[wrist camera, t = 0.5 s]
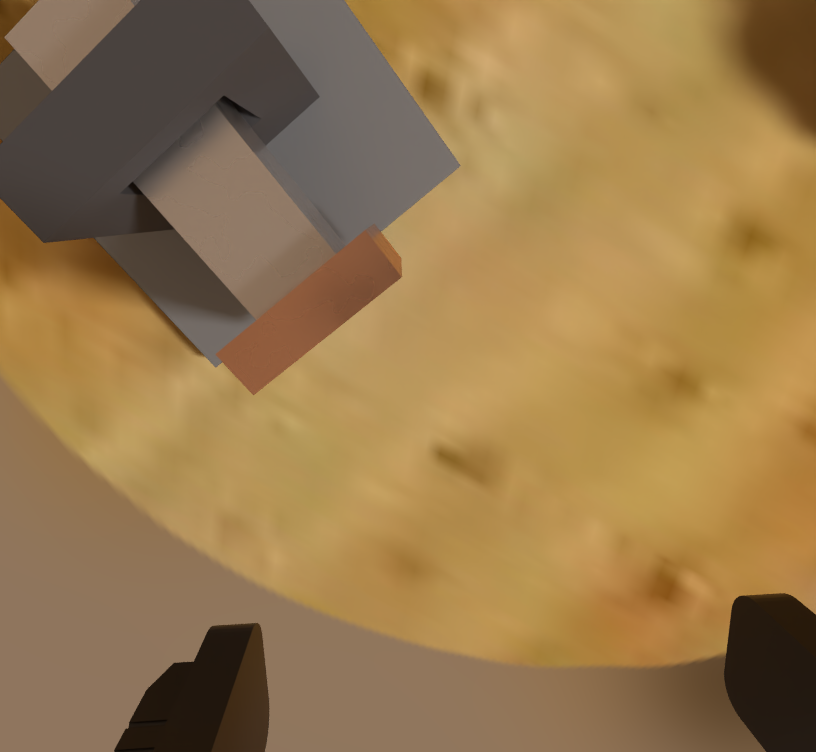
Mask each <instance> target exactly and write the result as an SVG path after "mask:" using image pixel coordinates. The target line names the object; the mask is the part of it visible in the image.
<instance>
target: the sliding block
mask: <svg viewBox="0 0 816 752" xmlns="http://www.w3.org/2000/svg"><path fill="white" fill-rule="evenodd" d="M139 1H140V0H39V1H38V2H37V3H36V4H35V5H34V6H33V7H32V8H31V9H30V10H29V11H28V12H27V13H26V15H25V16H24V17H23V18H22V19H21V20H20V21H19V22H18V23H17V24H16V25H15V26H14V27H13V29H12V30H11V31H10V32H9V33H8V34H7V35H6V36H5V37H4V38H5V39H6V40H7V41H8V42H9V43H10V44H11V45H12V47H13V48H14V49H15V50H16V51H17V52H18V53H19V54H20V56H21V57H22V58H23V59H24V60H25V61H26V62H27V63H28V65H29V66H30V67H31V68H32V69H33V70H34V71H35V72H36V73H37V75H38V76H39V77H40V78H41V79H42V80H43V81H44V82H45V84H46V85H47V86H48V87H49V88H50V89H51V90H52V91H53V89H54V88H55V87H56V86H57V85H58V84H59V83H60V82H61V81H62V80H63V79H64V78H65V77H66V76H67V75H68V74H69V73H70V72H71V71H72V70H73V69H74V68H75V67H76V66H77V65H78V64H79V63H80V62H81V61H82V60H83V59H84V58H85V57H86V56H87V55H88V54H89V53H90V52H91V50H92V49H93V48H94V47H95V46H96V45H97V44H98V43H99V42H100V41H101V40H102V39H103V38H104V37H105V36H106V35H107V34H108V33H109V32H110V31H111V30H112V29H113V28H114V27H115V26H116V25H117V24H118V23H119V22H120V21H121V20H122V19H123V18H124V17H125V16H126V15H127V14H128V13H129V12H130V10H131V9H132V8H133V7H134V6H135V5H136V4H137V3H138V2H139ZM133 182H134V184H135V185H136V186H137V187H138V188H139V189H140V190H141V191H142V193H143V194H144V195H145V196H146V197H147V198H148V199H149V200H150V201H151V203H152V204H153V205H154V206H155V207H156V208H157V209H158V210H159V212H160V213H161V214H162V215H163V216H164V217H165V218H166V219H167V221H168V222H169V223H170V224H171V225H172V226H173V227H174V228H175V230H176V231H177V232H178V233H179V234H180V235H181V236H182V237H183V239H184V240H185V241H186V242H187V243H188V244H189V245H190V246H191V248H192V249H193V250H194V251H195V252H196V253H197V254H198V255H199V257H200V258H201V259H202V260H203V261H204V262H205V263H206V264H207V265H208V267H209V268H210V269H211V270H212V271H213V272H214V273H215V274H216V276H217V277H218V278H219V279H220V280H221V281H222V282H223V283H224V285H225V286H226V287H227V288H228V289H229V290H230V291H231V292H232V294H233V295H234V296H235V297H236V298H237V299H238V300H239V301H240V303H241V304H242V305H243V306H244V307H245V308H246V309H247V310H248V312H249V313H250V314H251V315H252V316H253V317H254V318H255V319H256V321H255V322H254V323H252V324H251V325H250V326H249V327H248V328H246V329H245V330H244V331H243V332H241V333H240V334H239V335H238V336H237V337H235V338H234V339H233V340H232V341H231V342H229V343H228V344H227V345H226V346H225V347H223V348H222V349H221V350H220V351H219V352H217V353H216V354H215V355H216V356H217V357H218V358H219V359H220V360H221V361H222V362H223V363H224V364H225V365H226V366H227V367H228V369H229V370H230V371H231V372H232V373H233V374H234V375H235V376H236V377H237V378H238V379H239V380H240V381H241V382H242V384H243V385H244V386H245V387H246V388H247V389H248V390H249V391H250V392H251V393H252V394H253V395H254V394H256V393H257V392H258V391H259V390H261V389H262V388H263V387H264V386H266V385H267V384H268V383H269V382H271V381H272V380H273V379H274V378H276V377H277V376H278V375H279V374H281V373H282V372H283V371H284V370H286V369H287V368H288V367H289V366H291V365H292V364H293V363H294V362H296V361H297V360H298V359H299V358H301V357H302V356H303V355H304V354H306V353H307V352H308V351H309V350H311V349H312V348H313V347H315V346H316V345H317V344H318V343H320V342H321V341H322V340H323V339H325V338H326V337H327V336H328V335H330V334H331V333H332V332H333V331H335V330H336V329H337V328H338V327H340V326H341V325H342V324H343V323H345V322H346V321H347V320H348V319H350V318H351V317H352V316H353V315H355V314H356V313H357V312H358V311H360V310H361V309H362V308H363V307H365V306H366V305H367V304H368V303H370V302H371V301H372V300H373V299H375V298H376V297H377V296H378V295H380V294H381V293H382V292H383V291H385V290H386V289H387V288H389V287H390V286H391V285H392V284H394V283H395V282H396V281H397V280H399V279H400V278H401V277H402V267H401V257H400V256H399V255H398V253H397V252H396V251H395V249H394V248H393V247H392V246H391V244H390V243H389V242H388V240H387V239H386V238H385V237H384V235H383V234H382V233H381V231H380V230H379V229H378V228H377V226H376V225H375V224H373V225H372V226H370V227H369V228H367V229H366V230H364V231H363V232H362V233H361V234H360V235H358V236H357V237H356V238H355V239H354V240H352V241H351V242H350V243H349V244H348V245H345V244H344V243H343V242H342V240H341V239H340V238H339V237H338V235H337V234H336V233H335V232H334V230H333V229H332V228H331V227H330V225H329V224H328V223H327V222H326V220H325V219H324V218H323V217H322V215H321V214H320V213H319V212H318V210H317V209H316V208H315V207H314V205H313V204H312V203H311V202H310V200H309V199H308V198H307V197H306V195H305V194H304V193H303V192H302V190H301V189H300V188H299V187H298V185H297V184H296V183H295V182H294V180H293V179H292V178H291V177H290V175H289V174H288V173H287V172H286V170H285V169H284V168H283V167H282V165H281V164H280V163H279V162H278V160H277V159H276V158H275V157H274V155H273V154H272V153H271V152H270V151H269V149H268V148H267V147H266V146H265V144H264V143H263V142H262V141H261V139H260V138H259V137H258V136H257V134H256V133H255V132H254V131H253V129H252V128H251V127H250V126H249V124H248V123H247V122H246V121H245V119H244V118H243V117H242V116H241V114H240V113H239V112H238V111H237V109H236V108H235V107H234V106H233V104H232V103H231V102H230V101H229V99H228V98H227V97H226V96H223V97H222V98H220V99H219V100H218V101H217V102H216V103H215V104H214V105H213V106H212V107H211V108H210V109H209V110H208V111H207V112H206V113H205V114H204V115H202V116H201V117H200V118H199V119H198V120H197V121H196V122H195V123H194V124H193V125H192V126H191V127H190V128H189V129H188V130H187V131H186V132H184V133H183V134H182V135H181V136H180V137H179V138H178V139H177V140H176V141H175V142H174V143H173V144H172V145H171V146H170V147H169V148H168V149H166V150H165V151H164V152H163V153H162V154H161V155H160V156H159V157H158V158H157V159H156V160H155V161H154V162H153V163H152V164H151V165H149V166H148V167H147V168H146V169H145V170H144V171H143V172H142V173H141V174H140V175H139V176H138V177H137V178H136V179H135V180H134V181H133Z"/></svg>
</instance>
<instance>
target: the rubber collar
mask: <svg viewBox="0 0 816 752" xmlns="http://www.w3.org/2000/svg"><path fill="white" fill-rule="evenodd" d="M223 96H226V97H227V98H228V99H229V101H230V102H231V103H232V104H233V106H234V107H235V108H236V109H237V111H238V112H239V113H240V114H241V116H242V117H243V118H244V119H245V121H246V122H247V123H248V124H249V126H250V127H251V128H252V129H253V131H254V132H255V133H256V134H257V136H258V137H259V138H260V139H261V141H262V142H263V143H264V144H265V146H266V145H267V144H268V143H269V142H270V141H271V140H273V139H274V138H275V137H276V136H277V135H278V134H279V133H280V132H281V131H283V130H284V129H285V128H286V127H287V126H288V125H289V124H290V123H291V122H292V121H294V120H295V119H296V118H297V117H298V116H299V115H300V114H301V113H302V112H304V111H305V110H306V109H307V108H308V107H309V106H310V105H311V104H312V103H313V102H315V101H316V100H317V99H318V98H319V97H320V96H319V95H318V93H317V92H316V91H315V89H314V88H313V87H312V85H311V84H310V82H309V81H308V80H307V78H306V77H305V76H304V74H303V73H302V71H301V70H300V69H299V67H298V66H297V65H296V63H295V62H294V61H293V59H292V58H291V56H290V55H289V54H288V52H287V51H286V50H285V48H284V47H283V45H282V44H281V43H280V41H279V40H278V39H277V37H276V36H275V35H274V33H273V32H272V30H271V29H270V28H269V26H268V25H267V24H266V22H265V21H264V20H263V18H262V17H261V16H260V14H259V13H258V12H257V10H256V9H255V8H254V6H253V5H252V4H251V2H250V1H249V0H140V1H139V2H138V3H137V4H136V5H135V6H134V7H133V8H132V9H131V10H130V12H129V13H128V14H127V15H126V16H125V17H124V18H123V19H122V20H121V21H120V22H119V23H118V24H117V25H116V26H115V27H114V28H113V29H112V30H111V31H110V32H109V33H108V34H107V35H106V36H105V37H104V38H103V39H102V40H101V41H100V42H99V43H98V44H97V45H96V46H95V47H94V48H93V49H92V50H91V52H90V53H89V54H88V55H87V56H86V57H85V58H84V59H83V60H82V61H81V62H80V63H79V64H78V65H77V66H76V67H75V68H74V69H73V70H72V71H71V72H70V73H69V74H68V75H67V76H66V77H65V78H64V79H63V80H62V81H61V82H60V83H59V84H58V85H57V86H56V87H55V88H54V89H53V91H52V92H51V93H50V94H49V95H48V96H47V97H46V98H45V99H44V100H43V101H42V102H41V103H40V104H39V105H38V106H37V107H36V108H35V109H34V110H33V111H32V112H31V113H30V114H29V115H28V116H27V117H26V118H25V119H24V120H23V121H22V122H21V123H20V124H19V125H18V126H17V127H16V128H15V130H14V131H13V132H12V133H11V134H10V135H9V136H8V137H7V138H6V139H5V140H4V141H3V142H2V143H1V144H0V198H1V199H2V200H3V201H4V203H5V204H6V205H7V206H8V207H9V208H10V209H11V210H12V211H13V212H14V213H15V214H16V215H17V216H18V217H19V218H20V219H21V220H22V221H23V222H24V223H25V224H26V225H27V226H28V227H29V228H30V229H31V230H32V231H33V232H34V233H35V234H36V235H37V236H38V237H39V238H40V240H41V241H42V242H43V243H47V242H57V241H66V240H76V239H86V238H96V237H105V236H115V235H125V234H134V233H144V232H154V231H164V230H173V229H174V227H173V226H172V225H171V224H170V223H169V222H168V221H167V219H166V218H165V217H164V216H163V215H162V214H161V213H160V212H159V210H158V209H157V208H156V207H155V206H154V205H153V204H152V203H151V201H150V200H149V199H148V198H147V197H146V196H145V195H144V194H143V193H142V191H141V190H140V189H139V188H138V187H137V186H136V185H135V184H134V182H133V181H134V180H135V179H136V178H137V177H138V176H139V175H140V174H141V173H142V172H143V171H144V170H145V169H146V168H147V167H148V166H149V165H151V164H152V163H153V162H154V161H155V160H156V159H157V158H158V157H159V156H160V155H161V154H162V153H163V152H164V151H165V150H166V149H168V148H169V147H170V146H171V145H172V144H173V143H174V142H175V141H176V140H177V139H178V138H179V137H180V136H181V135H182V134H183V133H184V132H186V131H187V130H188V129H189V128H190V127H191V126H192V125H193V124H194V123H195V122H196V121H197V120H198V119H199V118H200V117H201V116H202V115H204V114H205V113H206V112H207V111H208V110H209V109H210V108H211V107H212V106H213V105H214V104H215V103H216V102H217V101H218V100H219V99H220V98H222V97H223Z"/></svg>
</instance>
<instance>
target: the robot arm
mask: <svg viewBox="0 0 816 752" xmlns="http://www.w3.org/2000/svg"><path fill="white" fill-rule="evenodd" d="M724 679H725V686H726V690H727V693H728V696H729V699H730V701H731V703H732V706H733V707H734V709H735V711H736V713H737V714H738V716H739V717H740V719H741V720H742V721H743V722H744V724H745V725H746V726H747V728H748V729H749V730H750V731H751V733H752V734H753V735H754V737H755V738H756V739H757V740H758V742H759V743H760V744H761V745H762V747H763V748H764V749H765V751H766V752H816V615H815V614H814V613H813V612H812V611H811V610H809V609H808V608H807V607H806V606H804V605H803V604H802V603H801V602H800V601H798V600H797V599H796V598H794V597H793V596H791V595H789V594H785V593H780V594H764V595H747V596H739V597H737V598H736V599H735V601H734V603H733V605H732V611H731V620H730V628H729V636H728V644H727V653H726V661H725V669H724ZM268 727H269V697H268V687H267V677H266V667H265V658H264V648H263V639H262V632H261V627H260V625H259V624H258V623H251V624H235V625H219V626H212V627H211V628H210V629H209V630H208V632H207V634H206V636H205V639H204V641H203V643H202V645H201V647H200V650H199V652H198V654H197V656H196V658H195V661H194V662H181V663H174V664H173V665H172V666H170V667H169V668H168V669H167V670H166V672H165V673H163V674H162V675H161V676H160V677H159V678H158V679H157V680H156V681H155V682H154V683H153V684H152V685H151V686H150V687H149V688H148V689H147V690H146V692H145V694H144V696H143V698H142V699H141V701H140V703H139V705H138V707H137V709H136V711H135V712H134V715H133V716H132V718H131V720H130V722H129V728H128V729H125V731H124V733H123V735H122V737H121V739H120V741H119V742H118V744H117V746H116V748H115V750H114V751H115V752H265V748H266V742H267V736H268Z"/></svg>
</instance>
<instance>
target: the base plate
mask: <svg viewBox="0 0 816 752" xmlns="http://www.w3.org/2000/svg"><path fill="white" fill-rule="evenodd" d="M249 1H250V2H251V4H252V5H253V6H254V8H255V9H256V10H257V12H258V13H259V14H260V16H261V17H262V18H263V20H264V21H265V22H266V24H267V25H268V26H269V28H270V29H271V30H272V32H273V33H274V35H275V36H276V37H277V39H278V40H279V41H280V43H281V44H282V45H283V47H284V48H285V50H286V51H287V52H288V54H289V55H290V56H291V58H292V59H293V61H294V62H295V63H296V65H297V66H298V67H299V69H300V70H301V71H302V73H303V74H304V76H305V77H306V78H307V80H308V81H309V82H310V84H311V85H312V87H313V88H314V89H315V91H316V92H317V93H318V95H319V96H320V97H319V98H318V99H317V100H316V101H315V102H313V103H312V104H311V105H310V106H309V107H308V108H307V109H306V110H305V111H304V112H302V113H301V114H300V115H299V116H298V117H297V118H296V119H295V120H294V121H292V122H291V123H290V124H289V125H288V126H287V127H286V128H285V129H284V130H283V131H281V132H280V133H279V134H278V135H277V136H276V137H275V138H274V139H273V140H271V141H270V142H269V143H268V144H267V145H266V147H267V148H268V149H269V151H270V152H271V153H272V154H273V155H274V157H275V158H276V159H277V160H278V162H279V163H280V164H281V165H282V167H283V168H284V169H285V170H286V172H287V173H288V174H289V175H290V177H291V178H292V179H293V180H294V182H295V183H296V184H297V185H298V187H299V188H300V189H301V190H302V192H303V193H304V194H305V195H306V197H307V198H308V199H309V200H310V202H311V203H312V204H313V205H314V207H315V208H316V209H317V210H318V212H319V213H320V214H321V215H322V217H323V218H324V219H325V220H326V222H327V223H328V224H329V225H330V227H331V228H332V229H333V230H334V232H335V233H336V234H337V235H338V237H339V238H340V239H341V240H342V242H343V243H344V244H345V245H348V244H349V243H350V242H351V241H352V240H354V239H355V238H356V237H357V236H358V235H360V234H361V233H362V232H363V231H364V230H366V229H367V228H369V227H370V226H372V225H373V224H375V225H376V226H377V228H378V229H379V230H380V231H382V230H383V229H385V228H386V227H387V226H388V225H389V224H391V223H392V222H393V221H394V220H396V219H397V218H398V217H399V216H400V215H402V214H403V213H404V212H405V211H406V210H408V209H409V208H410V207H411V206H413V205H414V204H415V203H416V202H417V201H419V200H420V199H421V198H422V197H423V196H425V195H426V194H427V193H428V192H430V191H431V190H432V189H433V188H434V187H436V186H437V185H438V184H439V183H440V182H442V181H443V180H444V179H445V178H447V177H448V176H449V175H450V174H451V173H453V172H454V171H455V170H456V169H457V168H459V167H460V164H459V163H458V161H457V160H456V158H455V157H454V156H453V154H452V153H451V151H450V150H449V149H448V147H447V146H446V144H445V143H444V141H443V140H442V139H441V137H440V136H439V134H438V133H437V131H436V130H435V129H434V127H433V126H432V124H431V123H430V122H429V120H428V119H427V117H426V116H425V114H424V113H423V112H422V110H421V109H420V107H419V106H418V104H417V103H416V102H415V100H414V99H413V97H412V96H411V95H410V93H409V92H408V90H407V89H406V87H405V86H404V85H403V83H402V82H401V80H400V79H399V77H398V76H397V75H396V73H395V72H394V70H393V69H392V68H391V66H390V65H389V63H388V62H387V60H386V59H385V58H384V56H383V55H382V53H381V52H380V51H379V49H378V48H377V46H376V45H375V43H374V42H373V41H372V39H371V38H370V36H369V35H368V33H367V32H366V31H365V29H364V28H363V26H362V25H361V24H360V22H359V21H358V19H357V18H356V16H355V15H354V14H353V12H352V11H351V9H350V8H349V6H348V5H347V4H346V2H345V1H344V0H249ZM51 92H52V90H51V89H50V88H49V87H48V86H47V85H46V84H45V82H44V81H43V80H42V79H41V78H40V77H39V76H38V75H37V73H36V72H35V71H34V70H33V69H32V68H31V67H30V66H29V65H28V63H27V62H26V61H25V60H24V59H23V58H22V57H21V56H20V54H19V53H18V52H17V51H16V50H15V49H14V50H13V51H12V52H11V53H10V54H9V55H8V56H7V57H6V58H5V60H4V61H3V62H2V63H1V64H0V139H1V140H2V141H4V140H5V139H6V138H7V137H8V136H9V135H10V134H11V133H12V132H13V131H14V130H15V128H16V127H17V126H18V125H19V124H20V123H21V122H22V121H23V120H24V119H25V118H26V117H27V116H28V115H29V114H30V113H31V112H32V111H33V110H34V109H35V108H36V107H37V106H38V105H39V104H40V103H41V102H42V101H43V100H44V99H45V98H46V97H47V96H48V95H49V94H50V93H51ZM94 239H95V240H96V241H97V242H98V243H99V244H100V245H101V246H102V247H103V248H104V249H105V250H106V252H107V253H108V254H109V255H110V256H111V257H112V258H113V259H114V260H115V261H116V262H117V263H118V264H119V265H120V266H121V267H122V269H123V270H124V271H125V272H126V273H127V274H128V275H129V276H130V277H131V278H132V279H133V280H134V281H135V282H136V283H137V284H138V285H139V287H140V288H141V289H142V290H143V291H144V292H145V293H146V294H147V295H148V296H149V297H150V298H151V299H152V300H153V301H154V302H155V304H156V305H157V306H158V307H159V308H160V309H161V310H162V311H163V312H164V313H165V314H166V315H167V316H168V317H169V318H170V319H171V321H172V322H173V323H174V324H175V325H176V326H177V327H178V328H179V329H180V330H181V331H182V332H183V333H184V334H185V335H186V336H187V338H188V339H189V340H190V341H191V342H192V343H193V344H194V345H195V346H196V347H197V348H198V349H199V350H200V351H201V352H202V353H203V355H204V356H205V357H206V358H207V359H208V360H209V361H210V362H211V363H212V364H213V365H214V366H215V367H217V366H218V365H219V364H221V363H222V361H221V360H220V359H219V358H218V357H217V356H216V355H215V354H216V353H217V352H219V351H220V350H221V349H222V348H223V347H225V346H226V345H227V344H228V343H229V342H231V341H232V340H233V339H234V338H235V337H237V336H238V335H239V334H240V333H241V332H243V331H244V330H245V329H246V328H248V327H249V326H250V325H251V324H252V323H254V322H255V321H256V319H255V318H254V317H253V316H252V315H251V314H250V313H249V312H248V310H247V309H246V308H245V307H244V306H243V305H242V304H241V303H240V301H239V300H238V299H237V298H236V297H235V296H234V295H233V294H232V292H231V291H230V290H229V289H228V288H227V287H226V286H225V285H224V283H223V282H222V281H221V280H220V279H219V278H218V277H217V276H216V274H215V273H214V272H213V271H212V270H211V269H210V268H209V267H208V265H207V264H206V263H205V262H204V261H203V260H202V259H201V258H200V257H199V255H198V254H197V253H196V252H195V251H194V250H193V249H192V248H191V246H190V245H189V244H188V243H187V242H186V241H185V240H184V239H183V237H182V236H181V235H180V234H179V233H178V232H177V231H176V230H175V228H174V229H173V230H164V231H154V232H144V233H134V234H125V235H115V236H105V237H96V238H94Z"/></svg>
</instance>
